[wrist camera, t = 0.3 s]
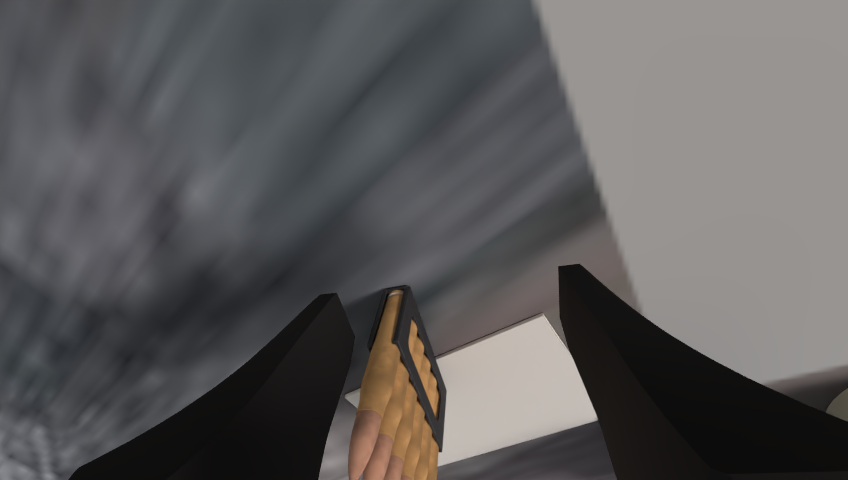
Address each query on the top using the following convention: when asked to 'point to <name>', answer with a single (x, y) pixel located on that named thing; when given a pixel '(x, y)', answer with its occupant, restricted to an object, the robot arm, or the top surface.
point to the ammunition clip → (398, 398)
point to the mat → (508, 390)
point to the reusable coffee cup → (839, 406)
